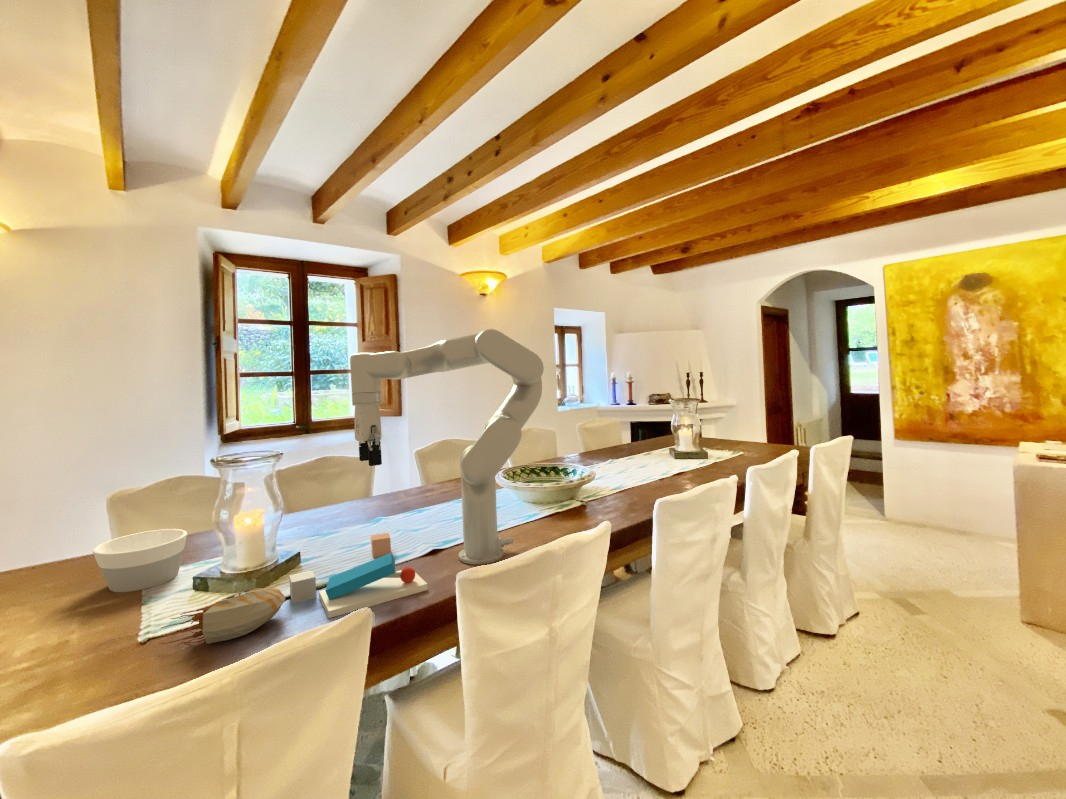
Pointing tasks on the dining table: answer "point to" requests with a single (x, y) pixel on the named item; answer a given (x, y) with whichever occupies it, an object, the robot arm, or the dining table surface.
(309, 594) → the grey block
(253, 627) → the nautilus
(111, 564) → the bowl
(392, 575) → the lever
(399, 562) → the dining table surface
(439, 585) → the dining table surface
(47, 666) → the dining table surface
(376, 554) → the terracotta block
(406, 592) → the board
